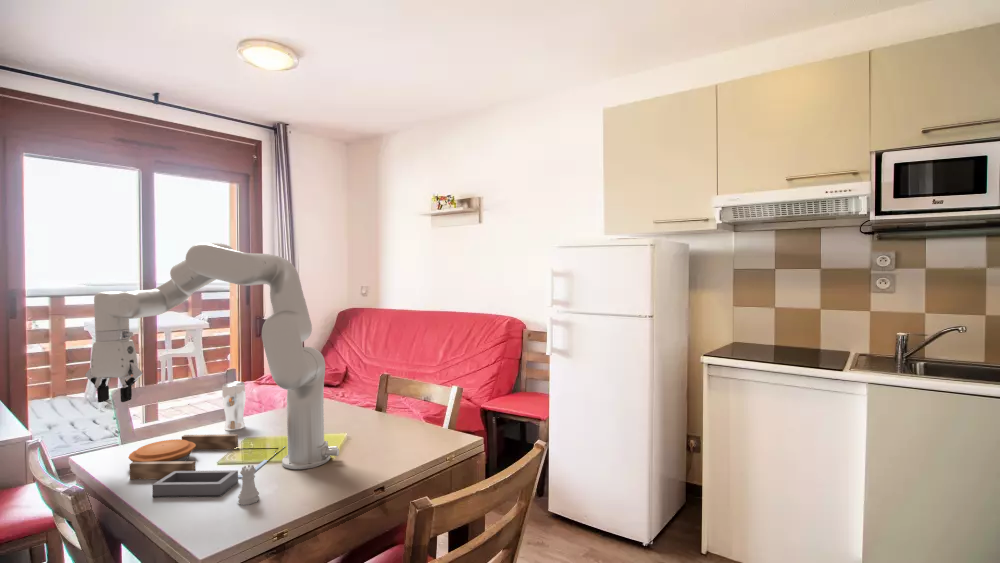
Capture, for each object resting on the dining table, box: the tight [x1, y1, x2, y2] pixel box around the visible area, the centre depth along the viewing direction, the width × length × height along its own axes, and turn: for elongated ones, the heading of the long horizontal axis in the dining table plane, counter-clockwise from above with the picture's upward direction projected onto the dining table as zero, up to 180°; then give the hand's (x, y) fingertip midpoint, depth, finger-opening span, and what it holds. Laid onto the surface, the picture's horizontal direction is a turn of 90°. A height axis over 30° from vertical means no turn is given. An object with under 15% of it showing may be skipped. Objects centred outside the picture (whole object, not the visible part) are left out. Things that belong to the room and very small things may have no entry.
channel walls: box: [129, 433, 239, 480], centre depth 140 cm, size 16×22×4 cm
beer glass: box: [221, 381, 247, 432], centre depth 170 cm, size 7×7×15 cm
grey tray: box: [151, 469, 239, 498], centre depth 123 cm, size 16×8×3 cm, turn 90°
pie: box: [128, 438, 196, 463], centre depth 140 cm, size 16×16×5 cm
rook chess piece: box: [237, 464, 260, 506], centre depth 116 cm, size 4×4×8 cm
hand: (114, 400), depth 140 cm, fingers open, 5 cm apart
